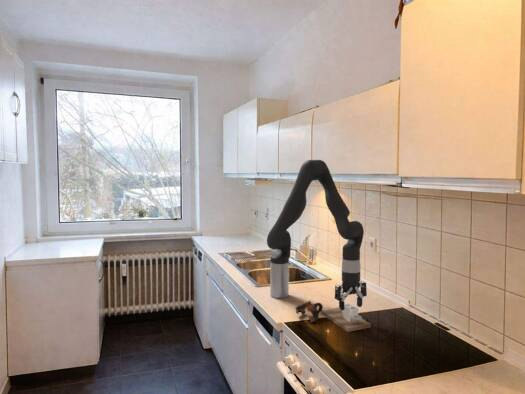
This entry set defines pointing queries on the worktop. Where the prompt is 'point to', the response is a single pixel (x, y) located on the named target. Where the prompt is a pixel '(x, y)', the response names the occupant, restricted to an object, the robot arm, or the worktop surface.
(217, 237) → the worktop surface
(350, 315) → the plug
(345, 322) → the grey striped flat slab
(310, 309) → the brown irregular piece
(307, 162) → the robot arm
